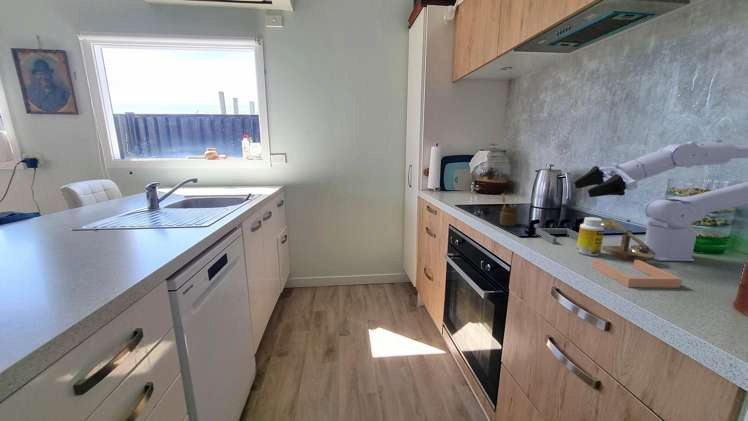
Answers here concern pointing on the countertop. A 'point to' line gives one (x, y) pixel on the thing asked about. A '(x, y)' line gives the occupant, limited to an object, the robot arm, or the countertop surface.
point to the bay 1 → (547, 231)
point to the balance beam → (639, 249)
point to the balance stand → (623, 250)
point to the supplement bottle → (590, 236)
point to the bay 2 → (657, 279)
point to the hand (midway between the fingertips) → (581, 189)
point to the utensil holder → (508, 214)
